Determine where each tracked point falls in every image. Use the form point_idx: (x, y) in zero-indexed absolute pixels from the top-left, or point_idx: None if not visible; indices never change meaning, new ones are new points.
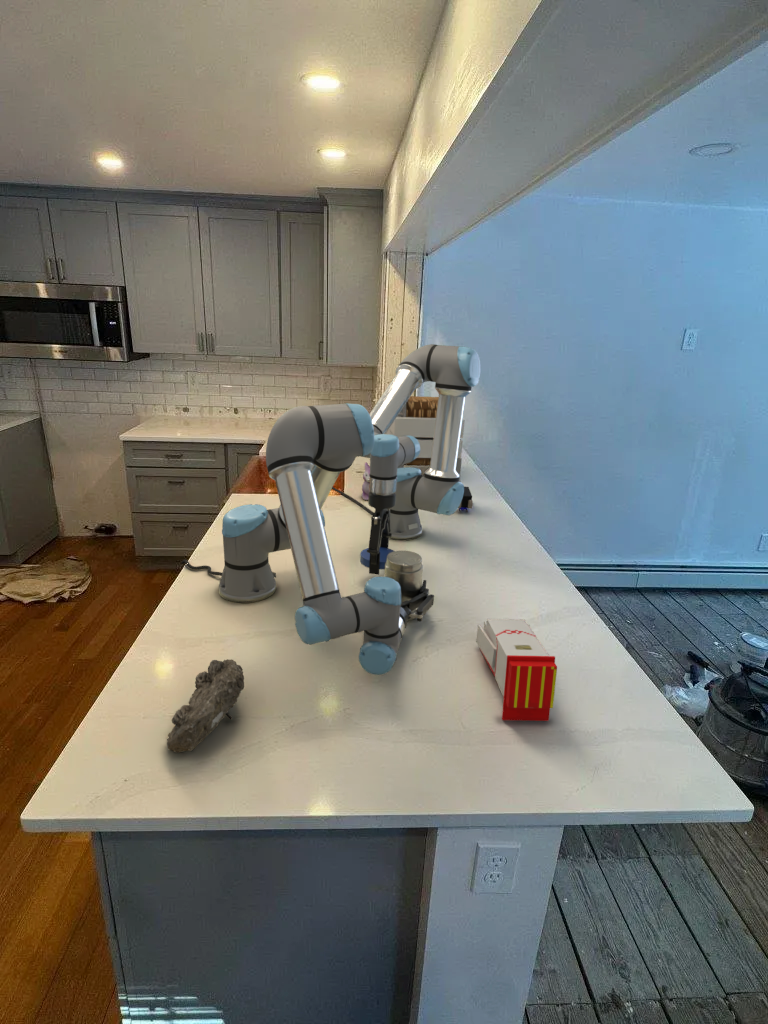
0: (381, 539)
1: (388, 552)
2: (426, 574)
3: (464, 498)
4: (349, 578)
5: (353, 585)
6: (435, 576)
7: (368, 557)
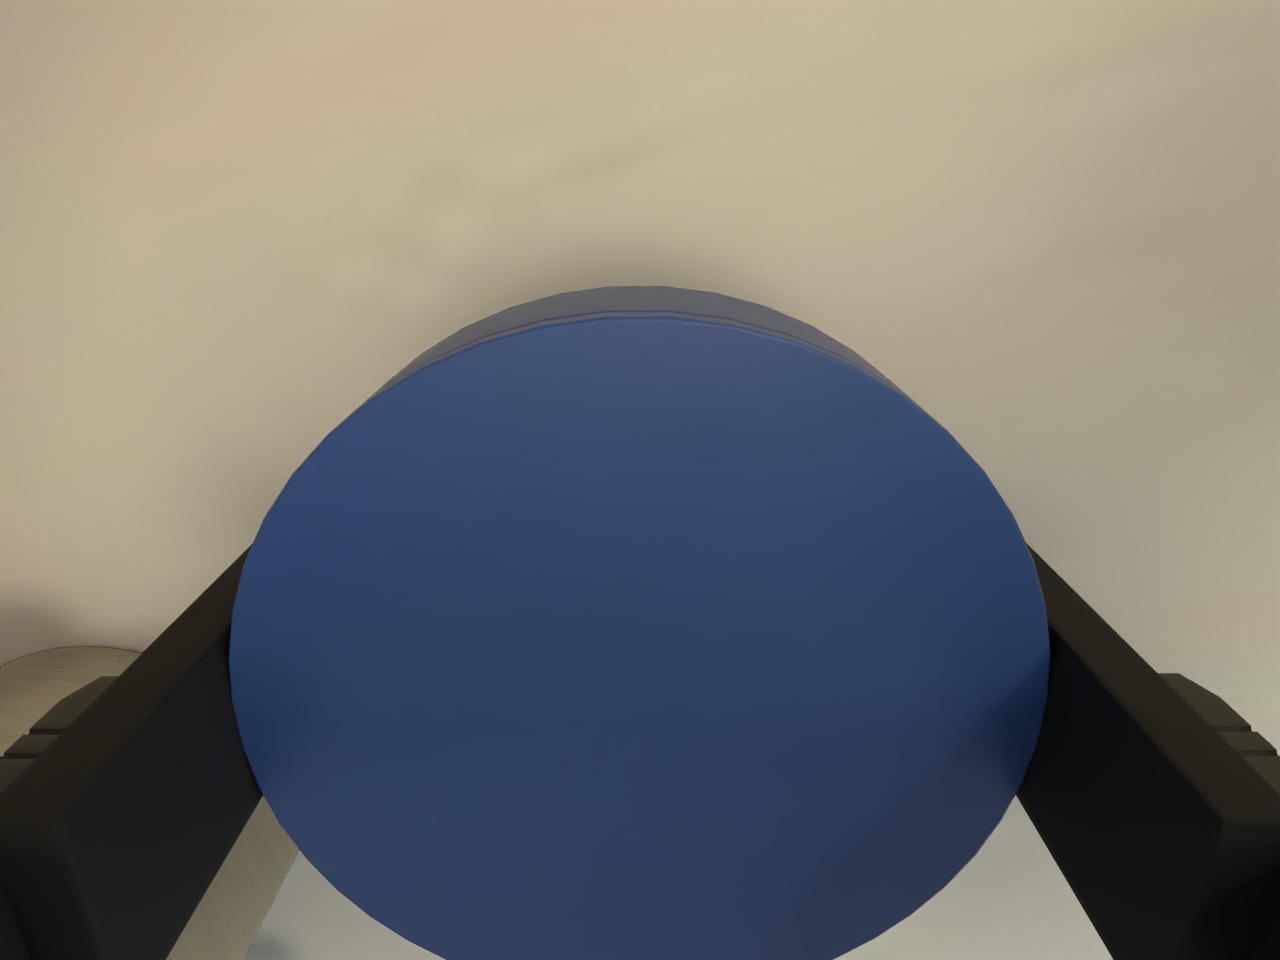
0: (1166, 832)
1: (786, 856)
2: (968, 885)
3: None
4: (646, 69)
5: (457, 193)
6: (937, 953)
7: (366, 568)
